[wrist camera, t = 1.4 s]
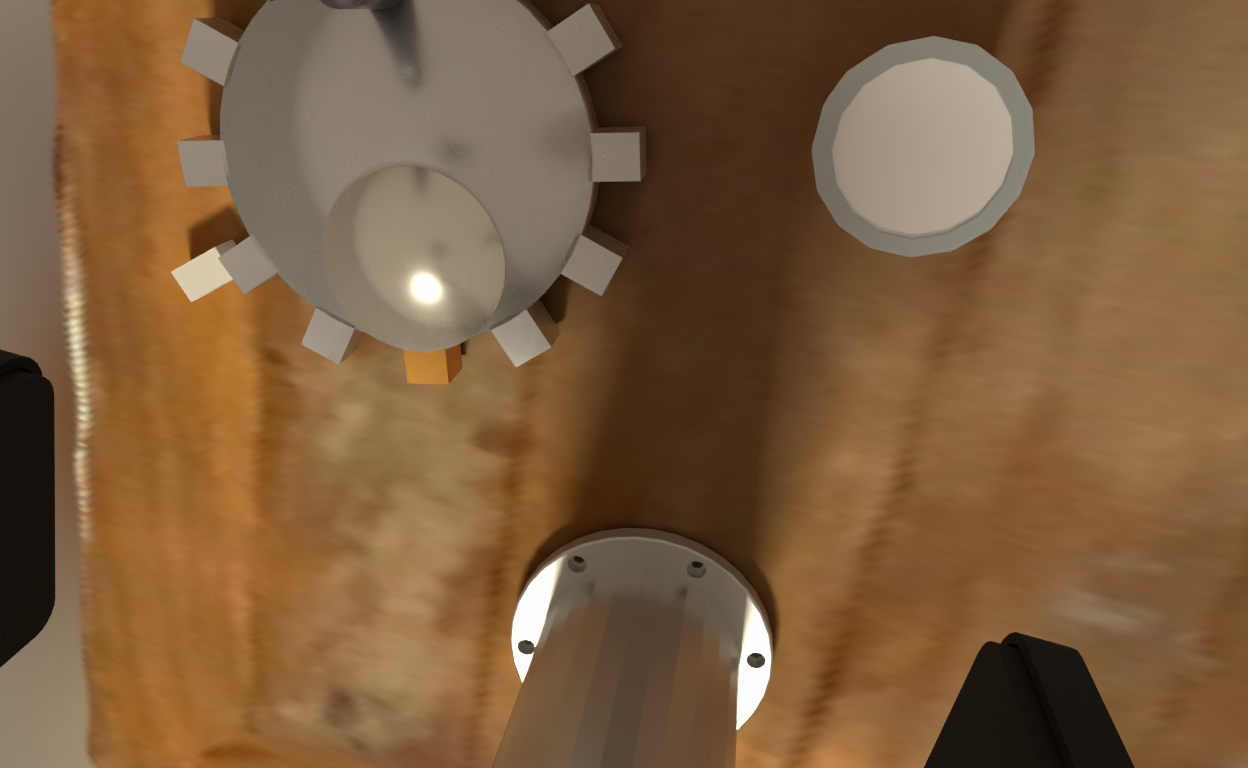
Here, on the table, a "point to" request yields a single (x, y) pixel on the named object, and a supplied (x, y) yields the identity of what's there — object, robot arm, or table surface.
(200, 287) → the block
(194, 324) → the table surface
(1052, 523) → the table surface
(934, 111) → the white cup
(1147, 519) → the table surface
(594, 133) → the index wheel
